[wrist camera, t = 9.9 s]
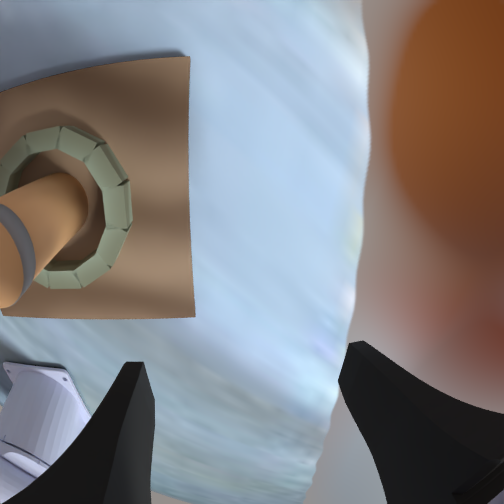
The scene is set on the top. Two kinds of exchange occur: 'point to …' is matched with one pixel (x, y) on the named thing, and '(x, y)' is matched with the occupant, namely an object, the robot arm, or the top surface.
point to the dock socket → (109, 187)
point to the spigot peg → (36, 229)
